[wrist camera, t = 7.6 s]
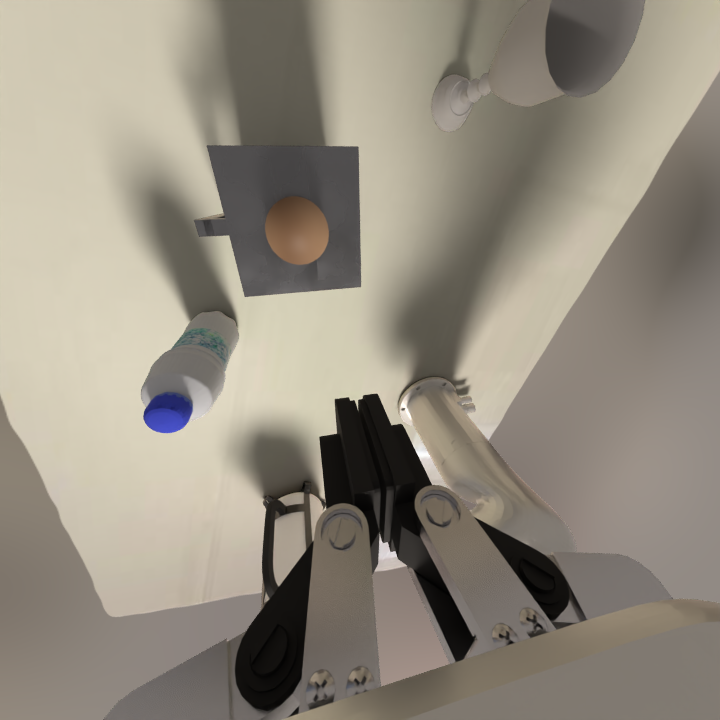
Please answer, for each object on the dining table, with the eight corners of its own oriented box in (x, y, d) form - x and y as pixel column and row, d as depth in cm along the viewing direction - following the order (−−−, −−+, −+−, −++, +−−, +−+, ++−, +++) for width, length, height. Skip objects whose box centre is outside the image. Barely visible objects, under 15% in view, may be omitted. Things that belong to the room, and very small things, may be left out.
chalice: (488, 107, 33) (655, 31, 18) (446, 156, 35) (567, 125, 20) (457, 42, 29) (633, -122, 14) (412, 100, 31) (527, 8, 16)
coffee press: (340, 482, 64) (373, 667, 39) (309, 521, 69) (320, 705, 44) (270, 468, 56) (254, 685, 31) (241, 513, 62) (207, 730, 37)
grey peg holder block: (328, 169, 33) (358, 146, 18) (334, 253, 38) (361, 286, 23) (217, 169, 30) (152, 145, 16) (239, 259, 35) (204, 300, 21)
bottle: (189, 342, 39) (114, 448, 23) (193, 299, 37) (113, 385, 20) (238, 352, 42) (203, 455, 25) (246, 312, 39) (213, 399, 22)
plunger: (320, 180, 32) (350, 163, 16) (326, 245, 36) (354, 283, 20) (257, 181, 30) (222, 163, 15) (269, 249, 34) (252, 292, 19)
